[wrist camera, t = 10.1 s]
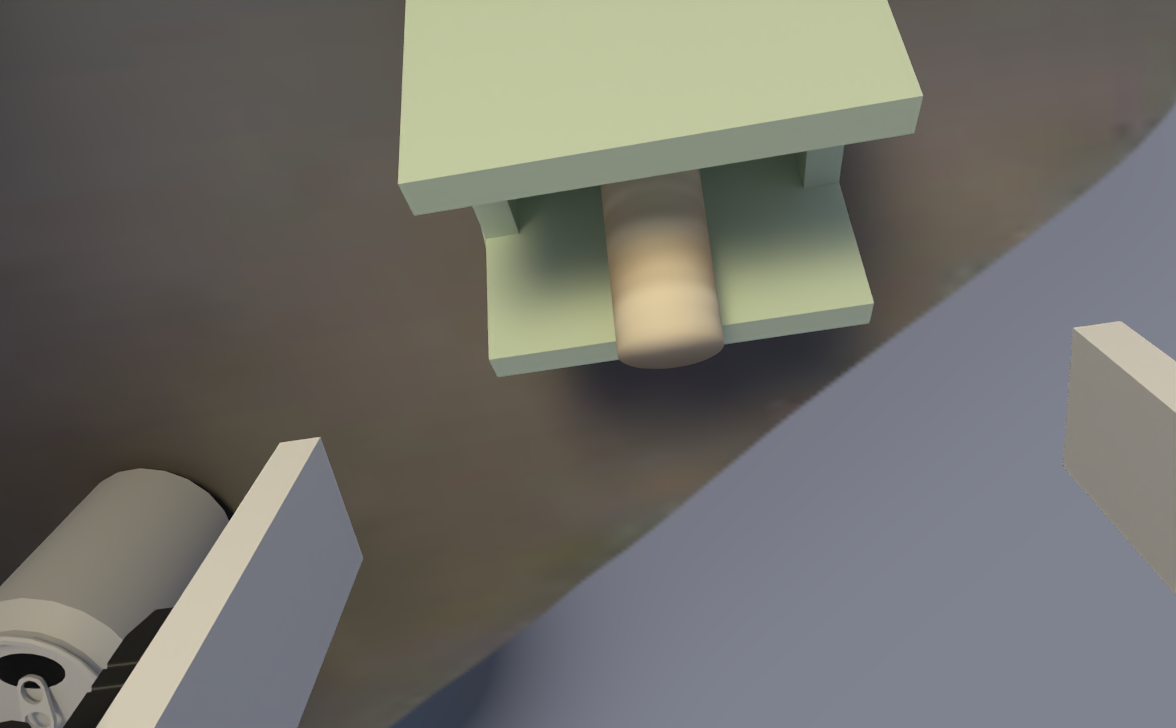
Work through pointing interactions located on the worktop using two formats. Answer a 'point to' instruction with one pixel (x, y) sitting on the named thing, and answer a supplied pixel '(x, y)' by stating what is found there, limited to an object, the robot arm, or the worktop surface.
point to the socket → (650, 150)
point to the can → (98, 587)
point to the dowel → (661, 271)
